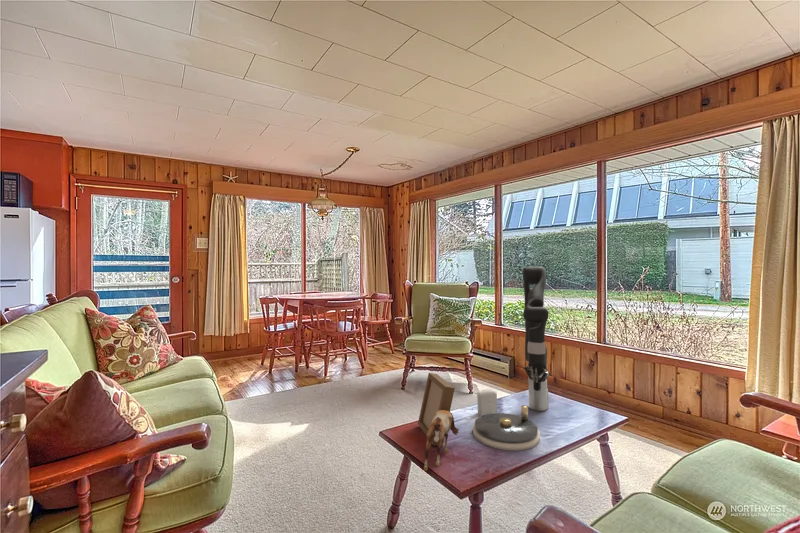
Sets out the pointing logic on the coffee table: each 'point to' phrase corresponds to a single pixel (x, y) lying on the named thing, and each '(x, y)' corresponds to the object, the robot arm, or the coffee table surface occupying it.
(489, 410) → the photo printer
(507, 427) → the handwheel
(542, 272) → the robot arm
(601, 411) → the coffee table surface
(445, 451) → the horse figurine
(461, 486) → the coffee table surface
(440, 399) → the photo frame
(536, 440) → the base plate
